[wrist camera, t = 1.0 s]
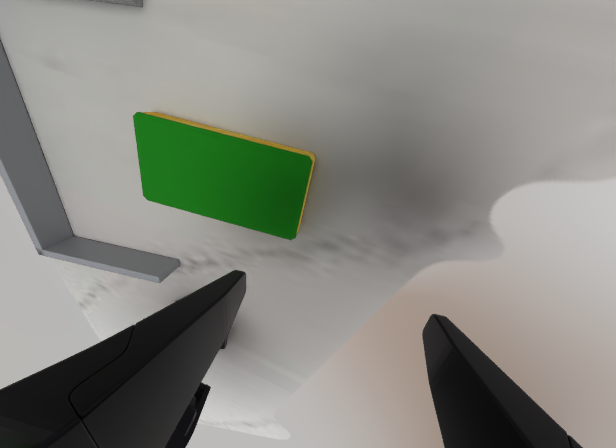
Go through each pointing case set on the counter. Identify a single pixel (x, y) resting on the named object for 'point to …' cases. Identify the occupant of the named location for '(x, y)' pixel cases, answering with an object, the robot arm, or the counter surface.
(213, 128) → the dish sponge
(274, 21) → the counter surface
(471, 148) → the counter surface
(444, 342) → the robot arm
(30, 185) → the frame
